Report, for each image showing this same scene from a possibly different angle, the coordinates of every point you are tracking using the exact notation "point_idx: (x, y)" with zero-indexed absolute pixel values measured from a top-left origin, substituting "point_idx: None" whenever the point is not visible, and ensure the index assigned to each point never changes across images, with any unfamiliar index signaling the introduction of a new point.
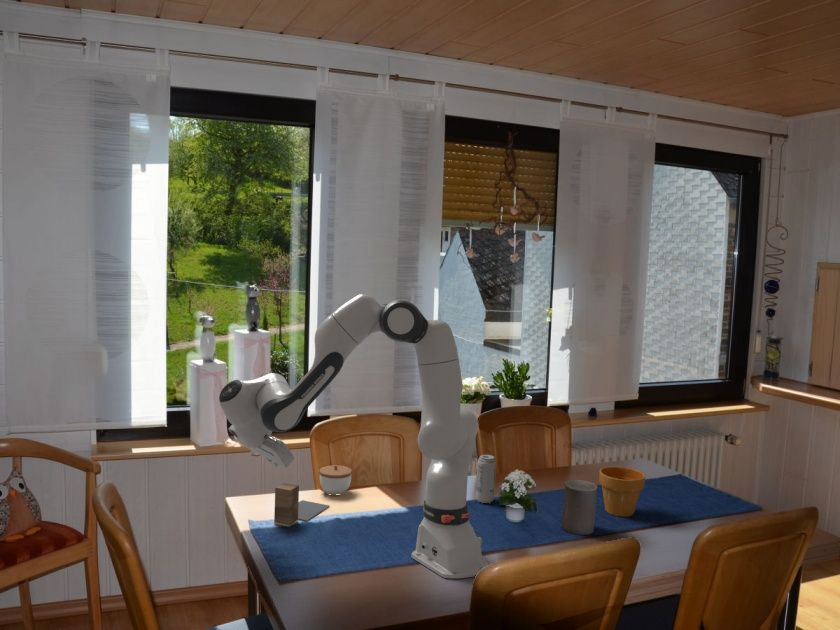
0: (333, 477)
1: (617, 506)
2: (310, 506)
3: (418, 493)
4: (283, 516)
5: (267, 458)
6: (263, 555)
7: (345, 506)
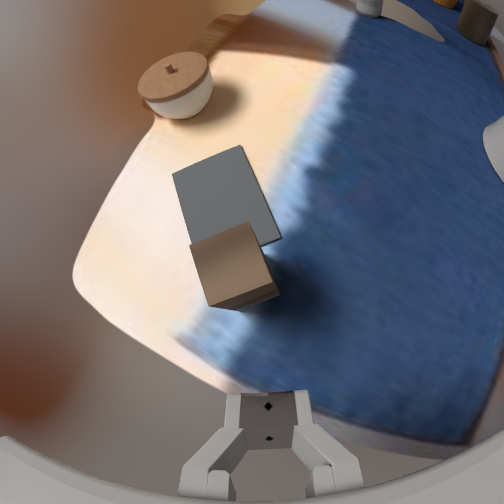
0: (192, 88)
1: (453, 2)
2: (213, 179)
3: (293, 30)
4: (260, 299)
5: (236, 460)
6: (371, 430)
7: (261, 122)
